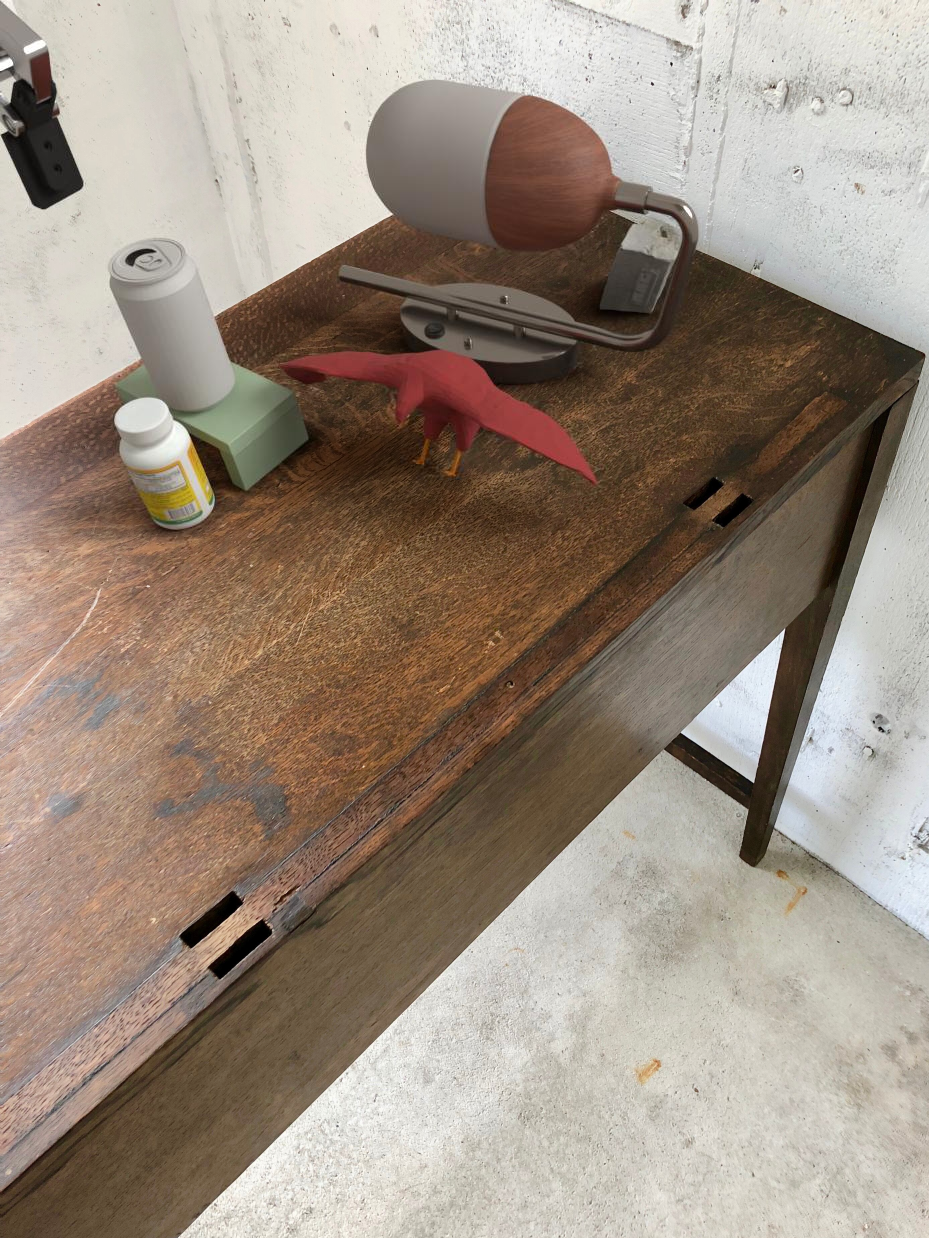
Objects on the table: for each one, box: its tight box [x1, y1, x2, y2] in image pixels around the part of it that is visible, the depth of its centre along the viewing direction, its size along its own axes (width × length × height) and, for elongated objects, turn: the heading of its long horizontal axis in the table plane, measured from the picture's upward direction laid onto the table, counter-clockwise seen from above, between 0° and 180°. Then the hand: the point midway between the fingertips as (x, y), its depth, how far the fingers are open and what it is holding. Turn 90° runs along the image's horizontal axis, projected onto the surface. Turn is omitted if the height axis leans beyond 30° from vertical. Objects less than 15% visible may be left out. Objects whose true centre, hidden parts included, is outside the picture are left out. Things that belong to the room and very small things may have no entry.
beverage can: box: [107, 237, 235, 412], centre depth 74 cm, size 6×6×12 cm
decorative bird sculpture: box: [278, 350, 599, 487], centre depth 76 cm, size 28×9×15 cm
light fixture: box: [338, 79, 700, 385], centre depth 79 cm, size 11×22×34 cm
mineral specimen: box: [599, 215, 682, 314], centre depth 87 cm, size 7×9×8 cm
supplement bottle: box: [113, 398, 216, 531], centre depth 74 cm, size 5×5×10 cm
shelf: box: [113, 361, 310, 492], centre depth 81 cm, size 14×8×5 cm, turn 54°
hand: (7, 176), depth 56 cm, fingers open, 9 cm apart
